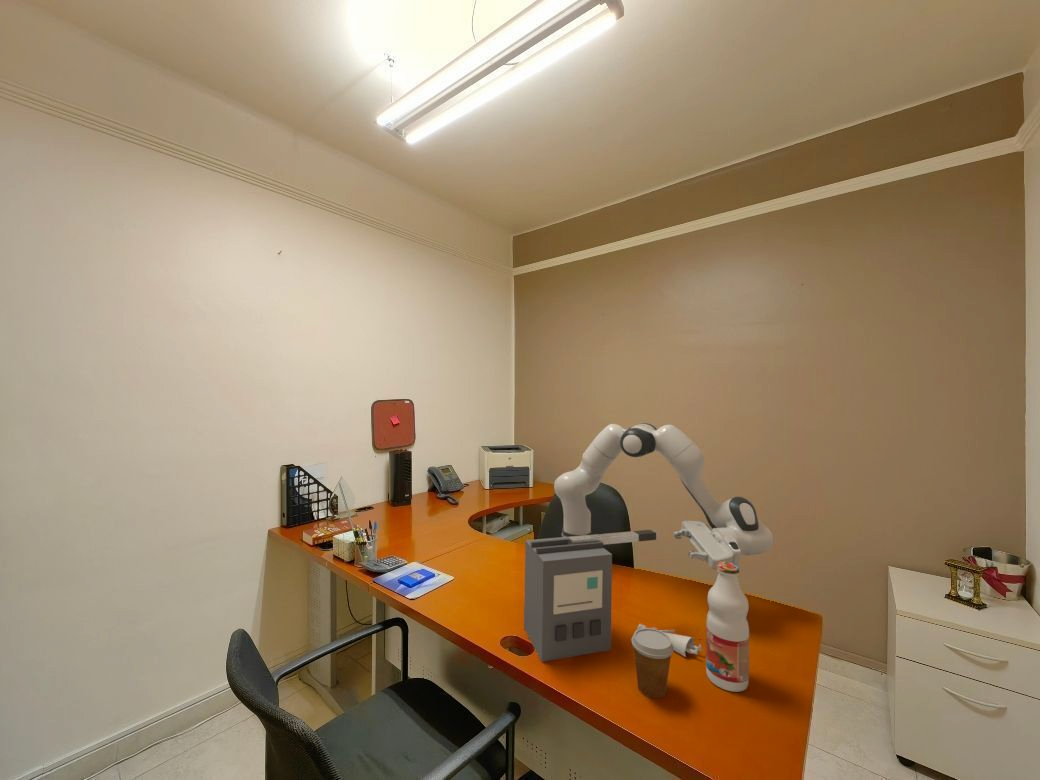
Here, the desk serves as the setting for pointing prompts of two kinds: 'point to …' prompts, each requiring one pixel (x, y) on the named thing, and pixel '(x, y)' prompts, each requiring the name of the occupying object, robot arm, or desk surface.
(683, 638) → the woman figurine
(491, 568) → the desk surface
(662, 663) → the disposable coffee cup
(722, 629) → the fruit juice
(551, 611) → the grey grooved block
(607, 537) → the bar
